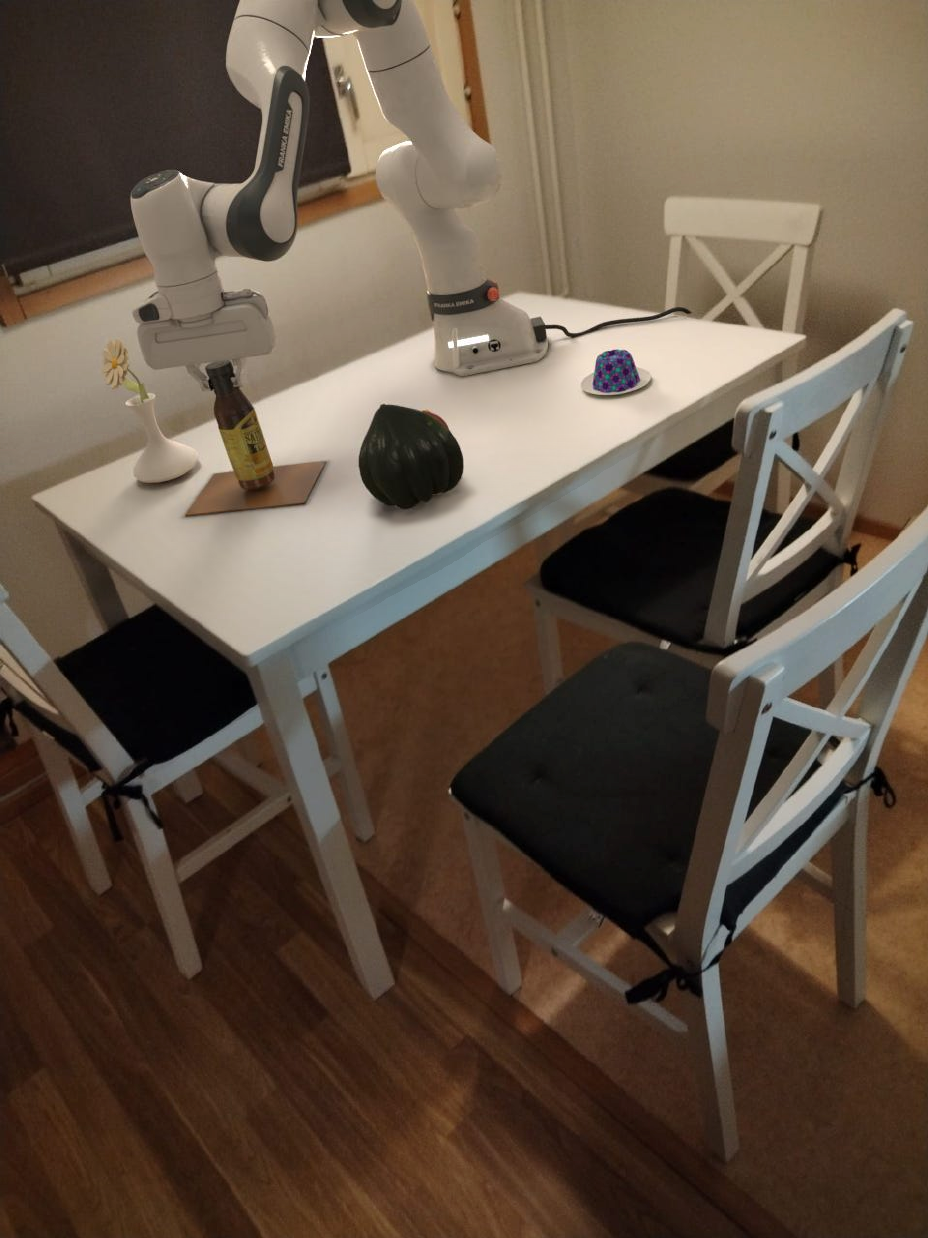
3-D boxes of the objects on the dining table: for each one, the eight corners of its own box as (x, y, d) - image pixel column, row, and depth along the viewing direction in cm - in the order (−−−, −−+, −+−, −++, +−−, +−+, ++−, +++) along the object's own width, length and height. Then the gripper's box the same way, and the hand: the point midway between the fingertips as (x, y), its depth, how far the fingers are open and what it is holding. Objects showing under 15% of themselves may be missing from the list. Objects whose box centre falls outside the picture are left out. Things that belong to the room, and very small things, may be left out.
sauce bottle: (269, 490, 147) (226, 370, 136) (233, 493, 149) (189, 375, 137) (283, 470, 152) (243, 353, 141) (248, 474, 154) (207, 358, 143)
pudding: (593, 370, 166) (591, 341, 163) (659, 370, 161) (658, 341, 158) (571, 398, 158) (567, 368, 155) (640, 399, 153) (637, 369, 150)
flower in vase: (133, 472, 165) (75, 335, 151) (195, 451, 168) (144, 315, 154) (142, 499, 155) (81, 355, 141) (208, 477, 158) (155, 333, 143)
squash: (478, 473, 129) (440, 376, 130) (376, 508, 127) (339, 409, 129) (469, 501, 143) (435, 412, 144) (377, 533, 141) (344, 443, 143)
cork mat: (326, 462, 154) (325, 460, 154) (305, 503, 143) (304, 502, 143) (214, 474, 158) (213, 473, 158) (185, 516, 147) (185, 514, 147)
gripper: (267, 280, 134) (294, 371, 142) (138, 299, 138) (171, 388, 146) (254, 293, 129) (283, 387, 137) (121, 313, 133) (156, 404, 141)
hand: (224, 388), depth 141 cm, fingers closed on sauce bottle, 4 cm apart
